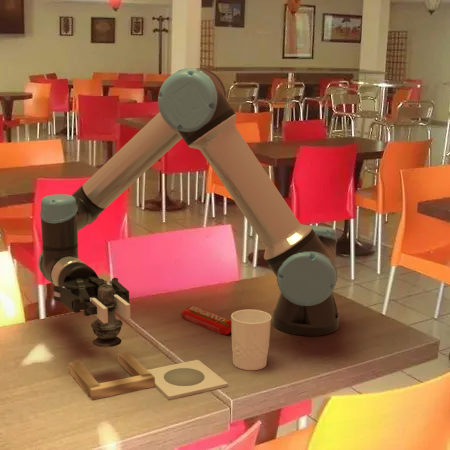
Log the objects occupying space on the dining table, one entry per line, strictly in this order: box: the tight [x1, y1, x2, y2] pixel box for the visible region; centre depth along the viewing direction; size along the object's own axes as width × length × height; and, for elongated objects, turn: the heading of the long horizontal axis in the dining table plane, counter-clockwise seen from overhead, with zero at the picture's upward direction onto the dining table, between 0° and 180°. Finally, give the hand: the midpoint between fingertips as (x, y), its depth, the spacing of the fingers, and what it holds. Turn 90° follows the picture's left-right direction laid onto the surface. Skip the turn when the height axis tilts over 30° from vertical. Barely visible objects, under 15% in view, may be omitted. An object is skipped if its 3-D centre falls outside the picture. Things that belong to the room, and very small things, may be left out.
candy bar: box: [180, 305, 231, 336], centre depth 163 cm, size 16×4×3 cm, turn 44°
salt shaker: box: [90, 280, 123, 348], centre depth 133 cm, size 6×6×12 cm
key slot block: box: [68, 351, 155, 401], centre depth 134 cm, size 12×13×2 cm
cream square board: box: [147, 359, 229, 401], centre depth 135 cm, size 12×12×1 cm
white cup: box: [230, 308, 273, 371], centre depth 142 cm, size 8×8×10 cm
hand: (117, 313), depth 128 cm, fingers closed on salt shaker, 4 cm apart
